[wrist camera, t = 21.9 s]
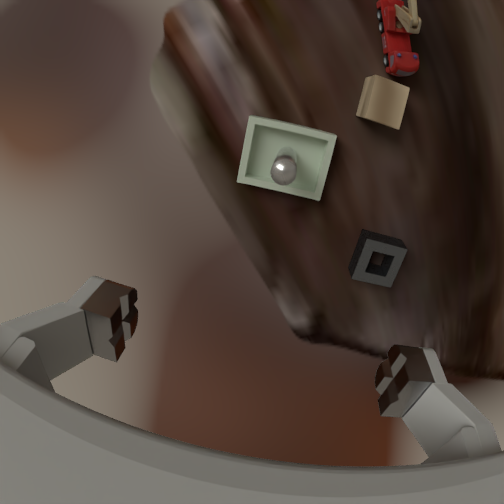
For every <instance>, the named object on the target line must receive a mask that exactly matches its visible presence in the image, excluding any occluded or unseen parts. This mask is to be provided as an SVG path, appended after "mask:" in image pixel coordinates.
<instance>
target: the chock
mask: <svg viewBox="0 0 504 504" xmlns="http://www.w3.org/2000/svg"><path fill="white" fill-rule="evenodd" d="M409 90H410V88H409V87H406V86H404V85H401V84H399V83H396V82H394V81H391V80H389V79H386V78H383V77H381V76H378V75H374V76H370V77H367V78H365V82H364V86H363V90H362V94H361V98H360V102H359V106H358V110H357V114H356V116H359V117H362V118H365V119H368V120H371V121H374V122H377V123H379V124H382V125H385V126H388V127H391V128H395V129H398V130H399V128H400V125H401V121H402V117H403V114H404V110H405V106H406V102H407V98H408V94H409Z"/></svg>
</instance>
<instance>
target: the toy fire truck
mask: <svg viewBox="0 0 504 504" xmlns="http://www.w3.org/2000/svg"><path fill="white" fill-rule="evenodd" d="M408 6H409V9H408V8H406V7H405V6H404V2H403V1H398V0H378V2H377V9H381V10H378V12H377V17H378V20H380V21H383V22H380V23H379V30H380V32H382V43H383V50H384V51H383V52H384V54H385V56H384V65H385V66H386V72H387V73H388V74H391V75H393V76H400V77H401V76H410V75H412V74H414V73H416V72H417V70H418V68H419V55H418V53H412V52H411V44H410V37H409V35H410V34H412V33H414V34H419V31H420V26H421V19H420V17H418V14H417V1H416V0H408Z"/></svg>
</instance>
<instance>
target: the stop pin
mask: <svg viewBox="0 0 504 504" xmlns="http://www.w3.org/2000/svg"><path fill="white" fill-rule="evenodd" d="M270 174H271V178H272V180H273V181H274V182H275V183H277V184H279V185H283V186H285V185H289V184H291V183H292V182H293V181H294V180H295V178H296V174H297V154H296V152H295V150H294V149H292V148H290V147H283V148H281V149H280V150H279V151H278V153H277V155H276V158H275V160H274V163H273V165H272V168H271V172H270Z"/></svg>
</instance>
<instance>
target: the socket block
mask: <svg viewBox="0 0 504 504" xmlns="http://www.w3.org/2000/svg"><path fill="white" fill-rule="evenodd" d="M407 250H408V249H407V248H406V246H405V245H404V243H403V242H402V240H400V239H397V238H393V237H390V236H386V235H382V234H379V233H375V232H371V231H367V230H364V229H362V231H361V234H360V237H359V240H358V243H357V245H356V248H355V251H354V254H353V256H352V259H351V262H350V264H349V267H348V268H349V272H350V275H351V279H354V280H359V281H363V282H368V283H372V284H377V285H381V286H386V287H390V288H391V286H392V284H393V281H394V279H395V277H396V275H397V273H398V270H399V268H400V266H401V264H402V261H403V259H404V257H405V254H406V252H407ZM373 251H375V252H379V253H383V254H386V255H385V257H384V259H383V262H382V264H381V266H379V265H375V264H371V263H369V260H370V258H371V255H372V253H373Z"/></svg>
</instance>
